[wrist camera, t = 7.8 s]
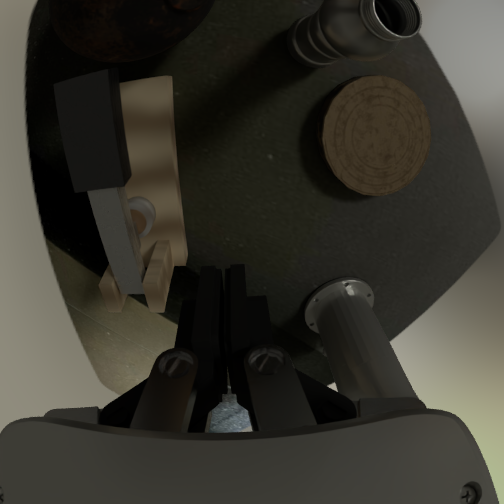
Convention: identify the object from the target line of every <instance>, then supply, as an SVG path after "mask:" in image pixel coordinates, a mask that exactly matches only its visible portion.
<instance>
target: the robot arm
mask: <svg viewBox="0 0 504 504" xmlns="http://www.w3.org/2000/svg"><path fill="white" fill-rule="evenodd" d="M373 303H374V295H373V292H372V290H371V288H370V286H369V285H368V284H367V283H366V282H364V281H363V280H361V279H358V278H353V277H344V278H339V279H335V280H332V281H330V282H328V283H326V284H324V285H322V286H321V287H320V288H318V289H317V290H316V291H315V292H314V293H313V294H312V295H311V296H310V298H309V299H308V301H307V303H306V305H305V308H304V317H305V321H306V323H307V325H308V327H309V328H310V329H311V330H313V331H314V332H316V333H319V334H320V337H321V340H322V343H323V346H324V349H323V355H324V356H327V358H328V361H329V364H330V368H331V371H332V374H333V377H334V380H335V383H336V386H337V390H338V392H336V391H335V390H332V389H331V388H329V387H327V386H325V385H324V384H322V383H320V382H318V381H316V380H314V379H313V378H311V377H309V376H307V375H306V374H304V373H302V372H300V371H298V370H297V369H295V368H294V366H293V364H292V361H291V359H290V356H289V355H288V353H287V352H286V351H285V350H284V349H283V348H281V347H279V346H277V345H274V343H273V336H272V330H271V323H270V317H269V310H268V304H267V298H266V296H251V297H247V295H246V281H245V267H244V264H235V265H231V268H229V269H225V298H224V290H223V281H222V271H221V269H216V266H202V267H201V273H200V279H199V286H198V293H197V299H192V300H183V303H182V308H181V313H180V319H179V324H178V329H177V335H176V341H175V346H174V348H172V349H168V350H166V351H164V352H162V353H161V354H160V355H159V356H158V357H157V359H156V360H155V363H154V365H153V367H152V370H151V373H150V375H149V377H148V378H147V379H145V380H144V381H142V382H141V383H139V384H138V385H136V386H135V387H133V388H132V389H130V390H129V391H127V392H126V393H124V394H123V395H121V396H120V397H118V398H117V399H115V400H114V401H112V402H110V403H109V404H108V405H106V406H105V407H104V408H103V409H99V408H98V407H85V408H68V409H67V408H66V409H53V410H50V411H48V412H47V413H46V414H45V415H44V417H30V418H23V419H19V420H16V421H14V422H11V423H9V424H8V425H7V426H6V427H5V428H4V429H3V430H2V432H1V433H0V504H499V501H498V498H497V494H496V491H495V488H494V485H493V482H492V479H491V476H490V473H489V470H488V467H487V465H486V463H485V460H484V458H483V456H482V453H481V451H480V449H479V447H478V445H477V443H476V441H475V439H474V437H473V435H472V434H471V432H470V431H469V429H468V427H467V426H466V425H465V423H464V422H463V421H462V420H461V419H460V418H459V417H457V416H456V415H455V414H452V413H450V412H447V411H443V410H437V409H429V408H428V409H427V408H426V406H425V404H424V403H423V402H422V401H421V400H419V398H418V397H417V395H416V393H415V392H414V390H413V388H412V386H411V384H410V382H409V381H408V378H407V377H406V375H405V373H404V371H403V369H402V367H401V365H400V362H399V361H398V359H397V356H396V354H395V353H394V350H393V348H392V346H391V345H390V343H389V341H388V339H387V337H386V335H385V333H384V331H383V329H382V327H381V325H380V323H379V321H378V320H377V318H376V316H375V314H374V312H373V310H372V307H373ZM227 366H228V372H229V379H230V385H231V391H232V394H236V396H237V403H238V404H239V405H241V406H242V407H244V408H245V409H246V410H248V415H249V419H250V423H251V426H252V430H253V432H232V433H208V432H209V427H210V422H211V417H212V409H214V408H215V407H216V406H217V405H218V404H219V402H222V394H227V393H228V384H227Z"/></svg>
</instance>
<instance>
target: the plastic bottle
mask: <svg viewBox="0 0 504 504" xmlns="http://www.w3.org/2000/svg"><path fill="white" fill-rule="evenodd" d="M421 24H422V16H421V11H420V9H419V7H418V5H417V3H416V1H415V0H324V1H323V3H322V5H321V6H320V8H319V9H318V10H317V11H316V12H315V13H314V14H310V15H306V16H303V17H301V18H299V19H297V20H296V21H295V22H294V23H293V24H292V25H291V26H290V28H289V30H288V34H287V48H288V50H289V52H290V54H291V55H292V57H293V58H294V59H295V60H296V61H298V62H299V63H301V64H303V65H305V66H308V67H312V68H324V67H327V66H330V65H331V64H333V63H335V62H337V61H338V60H339V59H345V58H346V59H352V60H358V61H375V60H379V59H381V58H383V57H385V56H387V55H388V54H389V53H390V52H391V51H393V50H394V49H395V47H396V46H397V45H398V43H399V41H400V40H402V39H407V38H410V37H413V36H415V35H416V34H417V33H418V32H419V30H420V28H421Z"/></svg>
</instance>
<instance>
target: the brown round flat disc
mask: <svg viewBox="0 0 504 504" xmlns="http://www.w3.org/2000/svg"><path fill="white" fill-rule="evenodd" d="M316 137H317V142H318V147H319V152H320V155H321V157H322V158H323V160H324V162H325V164H326V166H327V167H328V169H329V170H330V171H331V172H332V173H333V174H334V175H335V176H336V177H337V178H338V179H340V180H341V181H342V182H343V183H344V184H345V185H346V186H347V187H348V188H350V189H352V190H354V191H357V192H359V193H361V194H363V195H373V196H382V195H386V194H390V193H394V192H396V191H398V190H400V189H401V188H403V187H405V186H406V185H408V184H409V183H410V182H411V181H412V180H413V179H414V178H415V177H416V176H417V174H418V173H419V172H420V171H421V169H422V167H423V165H424V163H425V161H426V159H427V157H428V153H429V148H430V142H431V130H430V120H429V118H428V115H427V112H426V109H425V107H424V104H423V103H422V102H421V100H420V99H419V98H418V96H417V95H416V94H415V92H414V91H413V90H412V89H410V88H409V87H408V86H406V85H405V84H403V83H402V82H400V81H399V80H396V79H393V78H389V77H386V76H382V75H367V76H357V77H353V78H351V79H349V80H347V81H345V82H343V83H341V84H339V85H338V86H337V87H336V88H335V89H334V90H333V91H332V92H331V93H330V94H329V95H328V97H327V98H326V99H325V101H324V104H323V106H322V108H321V110H320V112H319V115H318V121H317V130H316Z"/></svg>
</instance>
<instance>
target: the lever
mask: <svg viewBox="0 0 504 504" xmlns="http://www.w3.org/2000/svg"><path fill="white" fill-rule="evenodd" d="M53 85H54V93H55V100H56V107H57V114H58V120H59V125H60V131H61V136H62V141H63V146H64V151H65V155H66V160H67V164H68V168H69V172H70V176H71V180H72V184H73V188H74V191H75V193H78V192H85V191H87V192H88V196H89V199H90V203H91V207H92V210H93V214H94V217H95V220H96V224H97V227H98V230H99V233H100V237H101V240H102V243H103V246H104V249H105V252H106V255H107V258H108V260H109V263H110V266H111V269H112V272H113V274H114V277H115V280H116V282H117V285H118V288H119V290H120V293H121V294H145V292H144V289H143V285H142V283H143V280H144V277H145V274H146V270H145V267H144V263H143V260H142V256H141V252H140V248H141V242H140V238H139V234H138V230H137V226H136V222H133V221H132V217H131V212H130V208H129V203H128V199H127V194H126V189H125V185H126V184H127V182H128V181H129V179H130V178H131V176H132V172H131V166H130V160H129V154H128V148H127V141H126V135H125V127H124V120H123V112H122V103H121V94H120V84H119V72H118V67H116V68H110V69H105V70H101V71H97V72H93V73H89V74H85V75H82V76H78V77H75V78H71V79H68V80H65V81H62V82H59V83H55V84H53Z"/></svg>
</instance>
